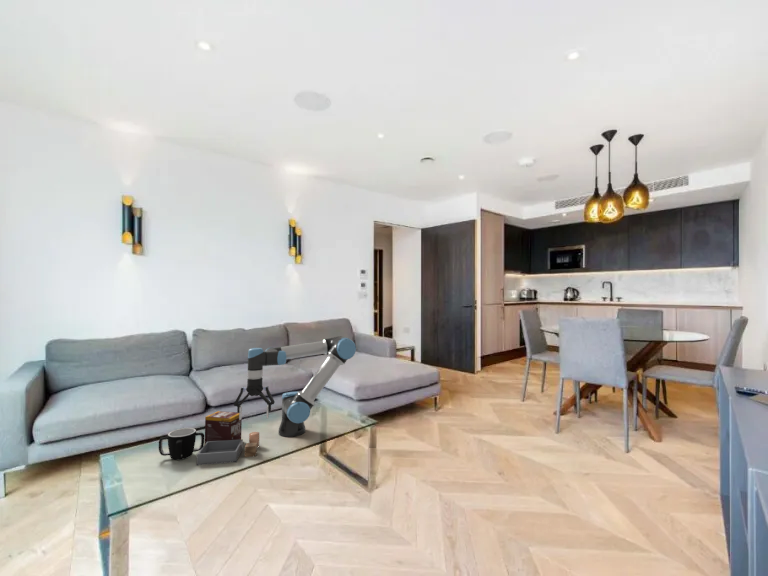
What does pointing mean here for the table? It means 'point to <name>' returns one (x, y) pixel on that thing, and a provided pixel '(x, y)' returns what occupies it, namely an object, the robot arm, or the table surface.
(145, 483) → the table surface
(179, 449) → the mug
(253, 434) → the terracotta canister
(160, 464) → the table surface
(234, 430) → the supplement box
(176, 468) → the table surface
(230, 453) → the tray
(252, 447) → the walnut cube
